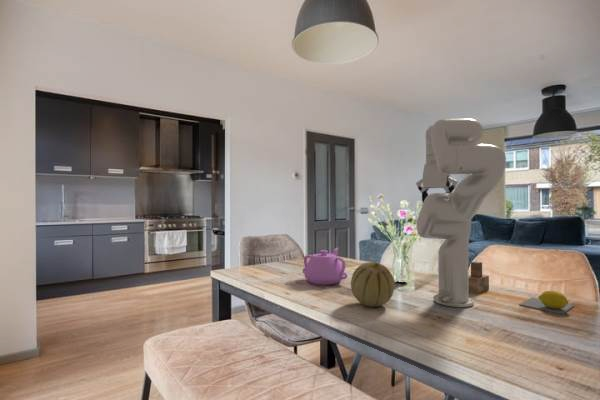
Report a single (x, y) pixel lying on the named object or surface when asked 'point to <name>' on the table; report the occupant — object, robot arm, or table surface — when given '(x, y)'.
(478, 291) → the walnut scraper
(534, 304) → the slate mat
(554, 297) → the lemon
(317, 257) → the teapot
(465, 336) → the table surface
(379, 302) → the cantaloupe
